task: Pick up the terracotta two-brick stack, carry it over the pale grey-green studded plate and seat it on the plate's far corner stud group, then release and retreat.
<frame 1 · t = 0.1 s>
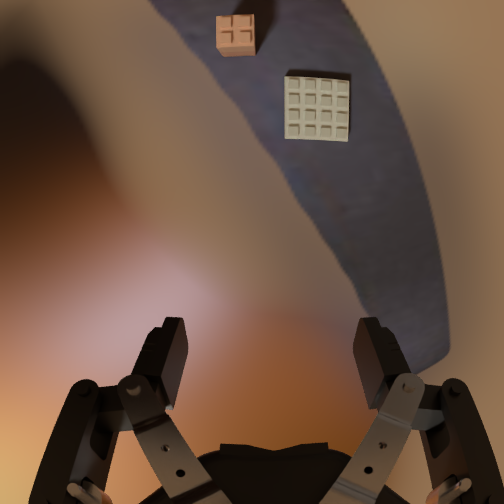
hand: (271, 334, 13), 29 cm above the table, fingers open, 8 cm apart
brick stack: (239, 42, 31), on the table
stud plate: (315, 108, 34), on the table
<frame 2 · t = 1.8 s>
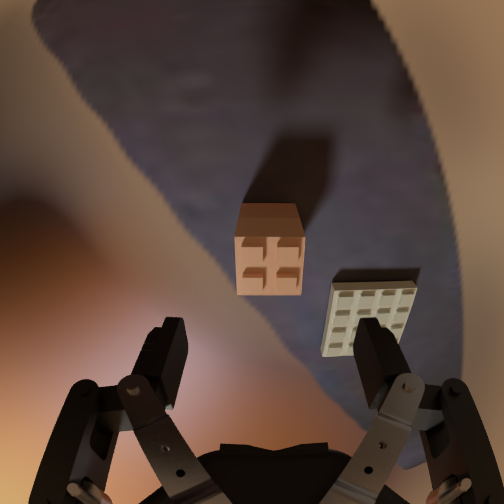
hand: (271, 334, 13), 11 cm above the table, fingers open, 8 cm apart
brick stack: (268, 227, 23), on the table
stud plate: (366, 316, 27), on the table
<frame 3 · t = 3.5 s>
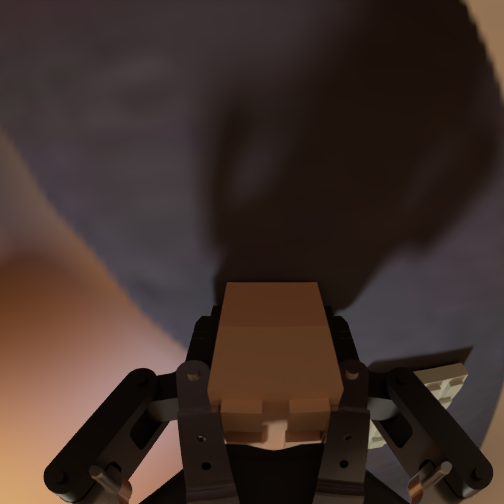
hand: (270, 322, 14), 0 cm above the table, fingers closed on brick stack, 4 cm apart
brick stack: (271, 317, 14), on the table, touching gripper
stud plate: (397, 406, 18), on the table
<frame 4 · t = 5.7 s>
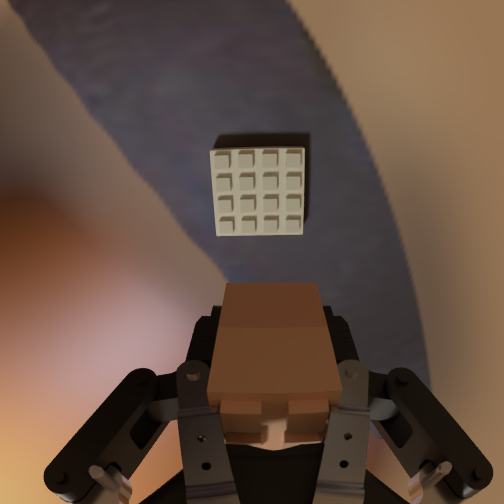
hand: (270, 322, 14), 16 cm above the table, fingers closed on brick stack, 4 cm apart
brick stack: (270, 318, 14), point 16 cm above the table, touching gripper
stud plate: (258, 189, 27), on the table
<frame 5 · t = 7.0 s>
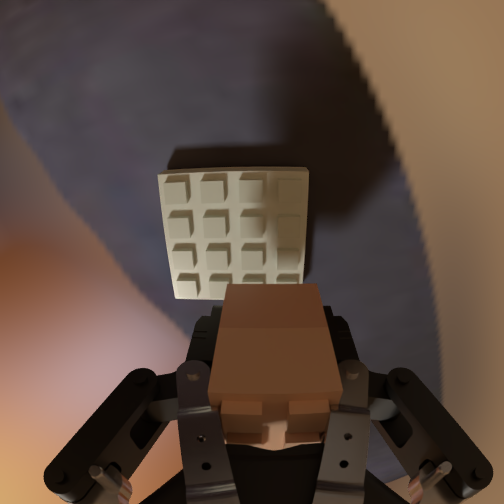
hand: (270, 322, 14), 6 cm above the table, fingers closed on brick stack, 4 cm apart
brick stack: (271, 318, 14), point 5 cm above the table, touching gripper
stud plate: (235, 233, 18), on the table
when the fingers open (2 cm above the table, at t = 8.1 s): brick stack stays where it is, resting on stud plate.
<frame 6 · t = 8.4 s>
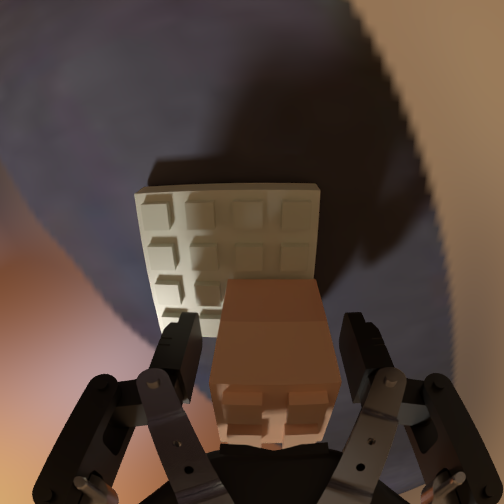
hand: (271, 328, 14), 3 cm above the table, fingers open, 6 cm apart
brick stack: (271, 314, 15), point 2 cm above the table, touching stud plate
stud plate: (230, 261, 15), on the table
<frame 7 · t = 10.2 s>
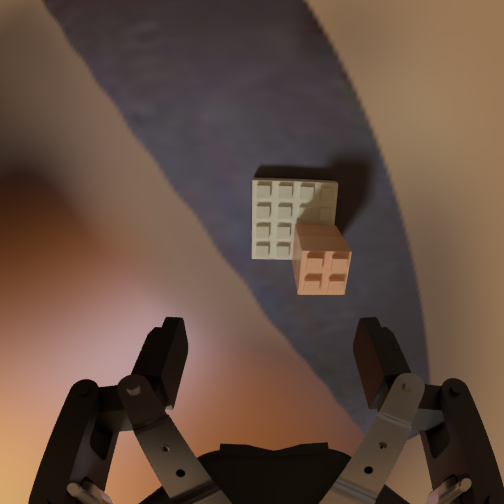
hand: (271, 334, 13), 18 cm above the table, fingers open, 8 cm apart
brick stack: (313, 243, 29), point 2 cm above the table, touching stud plate
stud plate: (292, 218, 30), on the table
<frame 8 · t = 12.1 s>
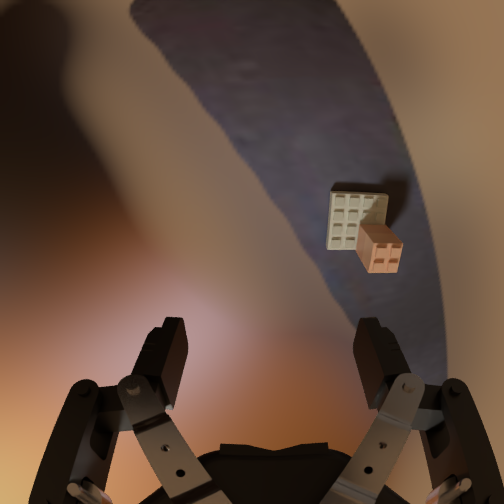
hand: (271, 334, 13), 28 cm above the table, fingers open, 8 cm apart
brick stack: (370, 238, 40), point 2 cm above the table, touching stud plate
stud plate: (355, 219, 40), on the table
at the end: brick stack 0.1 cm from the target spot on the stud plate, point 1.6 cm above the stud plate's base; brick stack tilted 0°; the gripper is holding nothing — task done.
